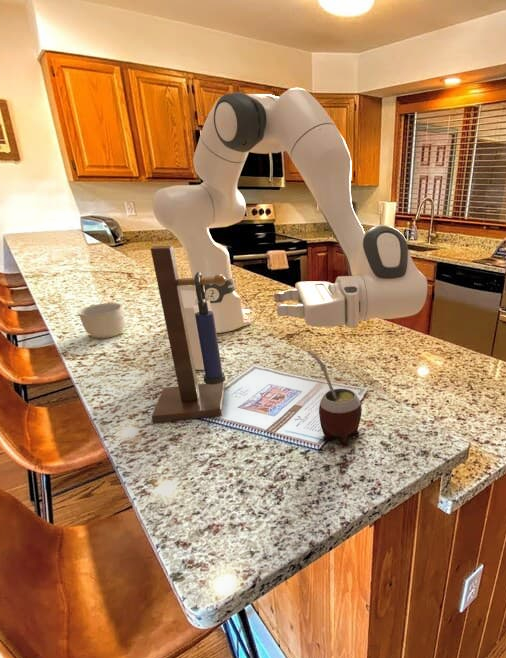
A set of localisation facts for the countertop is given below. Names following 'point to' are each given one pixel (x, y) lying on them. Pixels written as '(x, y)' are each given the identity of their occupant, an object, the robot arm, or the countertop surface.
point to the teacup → (103, 319)
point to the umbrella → (208, 338)
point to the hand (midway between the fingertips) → (275, 303)
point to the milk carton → (193, 321)
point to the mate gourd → (338, 411)
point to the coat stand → (182, 348)
